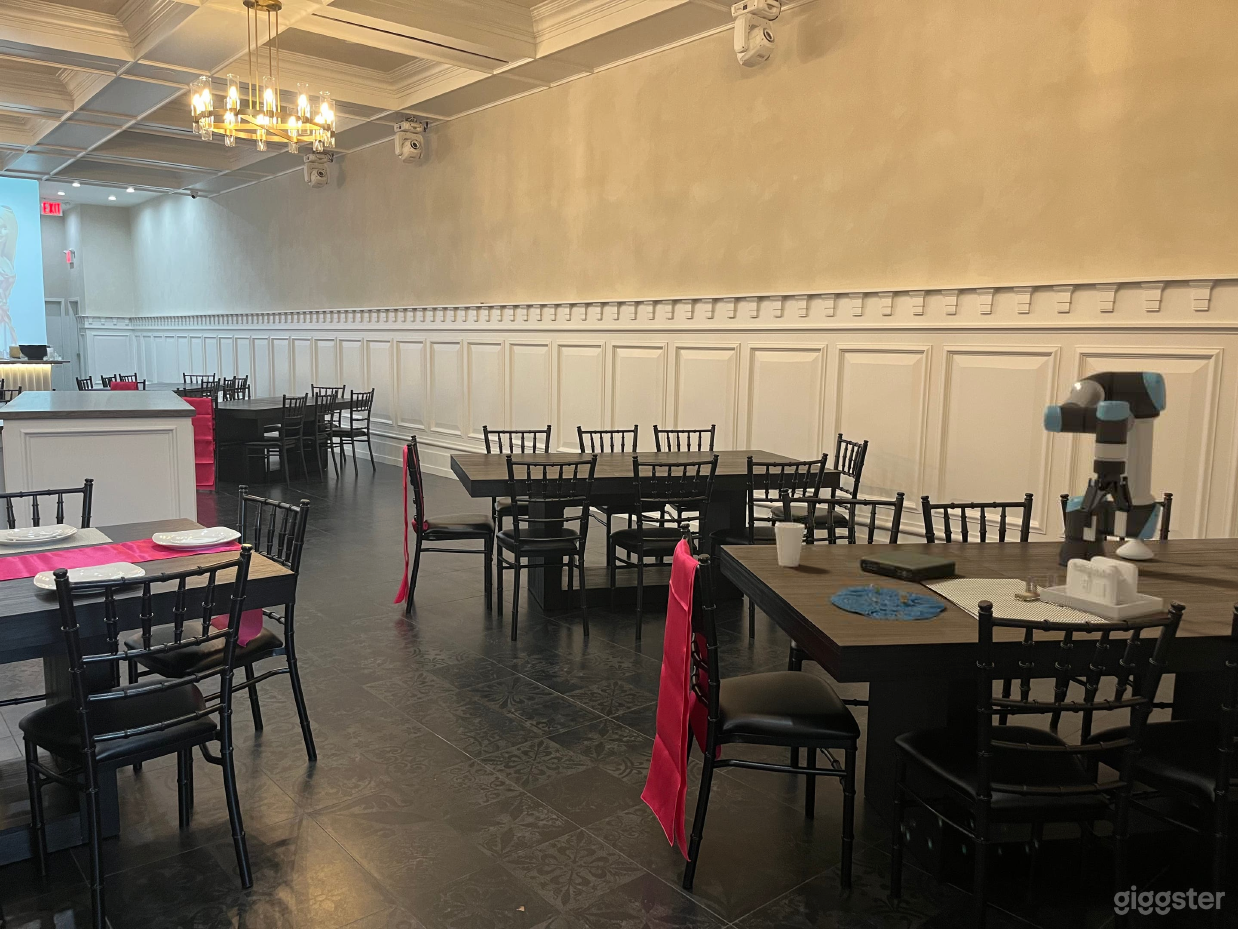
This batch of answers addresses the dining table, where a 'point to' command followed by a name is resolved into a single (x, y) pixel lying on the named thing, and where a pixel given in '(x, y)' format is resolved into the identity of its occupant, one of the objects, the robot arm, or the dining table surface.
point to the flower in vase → (1135, 550)
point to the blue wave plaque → (887, 603)
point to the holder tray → (1103, 604)
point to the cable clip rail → (1034, 592)
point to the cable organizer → (1102, 580)
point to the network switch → (908, 565)
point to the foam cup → (789, 543)
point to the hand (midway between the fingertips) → (1104, 537)
